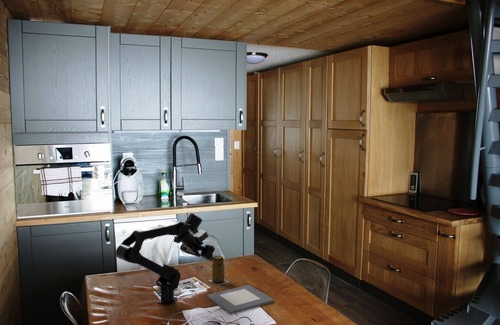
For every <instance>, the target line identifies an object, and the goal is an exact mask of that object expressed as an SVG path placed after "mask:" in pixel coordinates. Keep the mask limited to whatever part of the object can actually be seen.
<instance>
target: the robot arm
mask: <svg viewBox="0 0 500 325" xmlns="http://www.w3.org/2000/svg"><path fill="white" fill-rule="evenodd" d="M202 222H203V219H202V218H201V217H200V216H198V215H196V214H195V213H192V212H191V213H189V214H188V217H187V218H186V220H185V222H183V221H178V220H175V219H171V220H169V221H166V222H165V223H164V224H161V225H156V226H151V227H147V228H142V229H134V230H133V231H132V233H131V234H130V235H128V237H126V238H125V239H123V241H122V242H121V243H120V245H119V246H117V248H116V250H115V256H116V258H117V259H120V260H122V261H125V262H127V263H131V264H135V265H138V266H140V267H141V268H144V269H146V270H148V271H150V272H152V273H154V274H156V275H157V276H158V278H157V280H156V281H155V285H156V287H159V288H160V299H158V301H157V304H163V305H173V304H174V302H176V300H178V297H175V290H177V289H178V288H179V284H180V280H181V272H180V270H179V269H177V268H175V267H173V266H171V265H169V264H166V263H163V266H162V265H160V264H158V263H157V262H155V261H153V260H151V259H150V258H147V257H145V256H143V255H142V254H141V252H140V251H141V250H142V248H143V244H144V242H145V240H149V239H154V238H159V237H163V236H174V238H173V242H174V243H176V244H180V243H181V245H180V246H179V250H180V251H181V252H183V253H185V254H188V255H190V256H195V257H197V258H202V259H203V260H206V261H210V262H213V261H214V258H213V257H214V252H215V250H216V247H214V245H212V244H205V245H204V241H205V240H206V239H208V238H209V234H208V232H207V230H206V229H199V227H200V226H201V224H202ZM133 244H134V245H133ZM131 245H133V246H131ZM203 245H204V246H203Z"/></svg>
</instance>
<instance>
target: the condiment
mask: <svg viewBox="0 0 500 325" xmlns="http://www.w3.org/2000/svg"><path fill="white" fill-rule="evenodd" d="M213 258H214V261H211V262H212V263H211V279H208V282H210V283H212V284H214V285H216V286H221V285H225V284H229V283H230V281H229V280H226V279H225V262H224V261H225V260H224V256H222V255H215V256H214V255H213Z"/></svg>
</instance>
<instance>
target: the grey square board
mask: <svg viewBox="0 0 500 325" xmlns="http://www.w3.org/2000/svg"><path fill="white" fill-rule="evenodd" d="M206 298H207V299H208V300H211V302H213V303H214V304H215V305H216V306H218V307H220V309H222V310H224V311H225V312H226V311H227V312H226V313H228V314H229V315H232V313H233V314H236V312H237V313H239V312H243V310H244V311H246V310H250V308H251V309H254V308H257V307H261V306H264V305H268V304H271V303H274V302H275V299H274V298H272V297H270V296H269V295H267V294H266V293H264V292H261V291H260V290H258V289H257V288H255V287H253V286H251V285H249V284H246V285H242V286H238V287H234V288H229V289H226V290H222V291H218V292H214V293H213V292H212V293H210V294H206Z"/></svg>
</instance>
